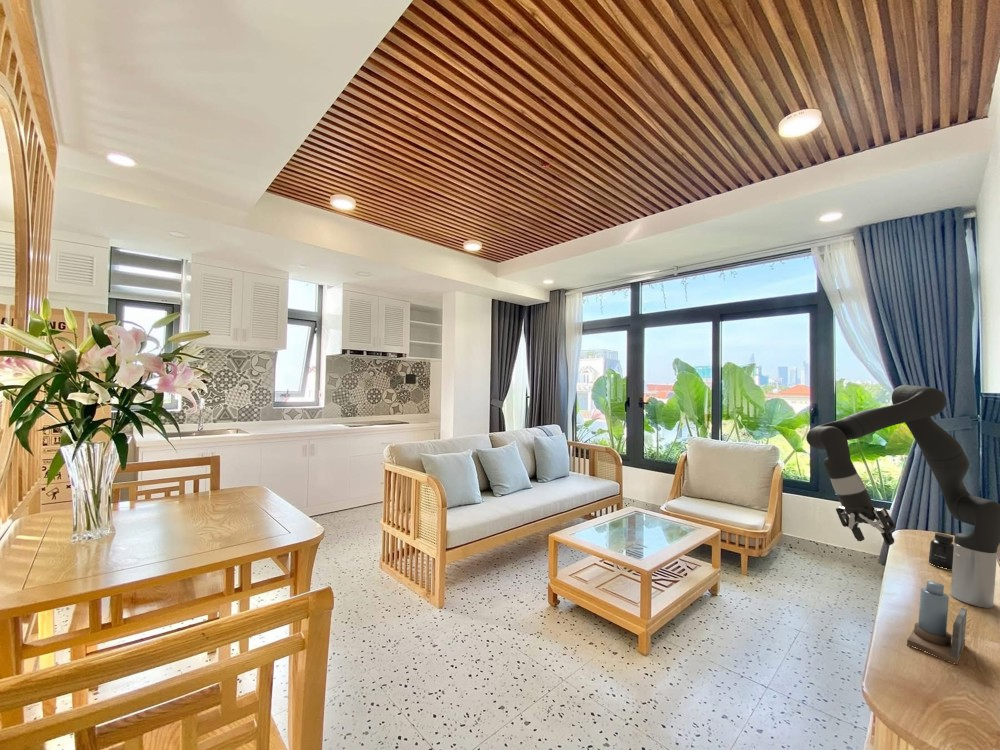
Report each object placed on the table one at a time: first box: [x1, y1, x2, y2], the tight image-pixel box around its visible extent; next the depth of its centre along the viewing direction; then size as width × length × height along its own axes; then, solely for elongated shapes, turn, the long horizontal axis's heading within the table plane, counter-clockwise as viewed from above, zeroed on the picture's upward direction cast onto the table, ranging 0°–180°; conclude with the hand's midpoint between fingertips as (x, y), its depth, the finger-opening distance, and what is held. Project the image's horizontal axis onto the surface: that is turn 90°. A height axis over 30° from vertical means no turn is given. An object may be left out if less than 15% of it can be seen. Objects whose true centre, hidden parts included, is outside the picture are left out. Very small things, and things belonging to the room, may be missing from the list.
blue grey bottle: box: [917, 580, 950, 636], centre depth 113 cm, size 5×5×12 cm
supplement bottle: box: [928, 532, 954, 569], centre depth 162 cm, size 7×7×12 cm
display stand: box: [906, 607, 968, 665], centre depth 112 cm, size 14×9×10 cm, turn 127°
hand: (875, 542), depth 127 cm, fingers open, 8 cm apart
